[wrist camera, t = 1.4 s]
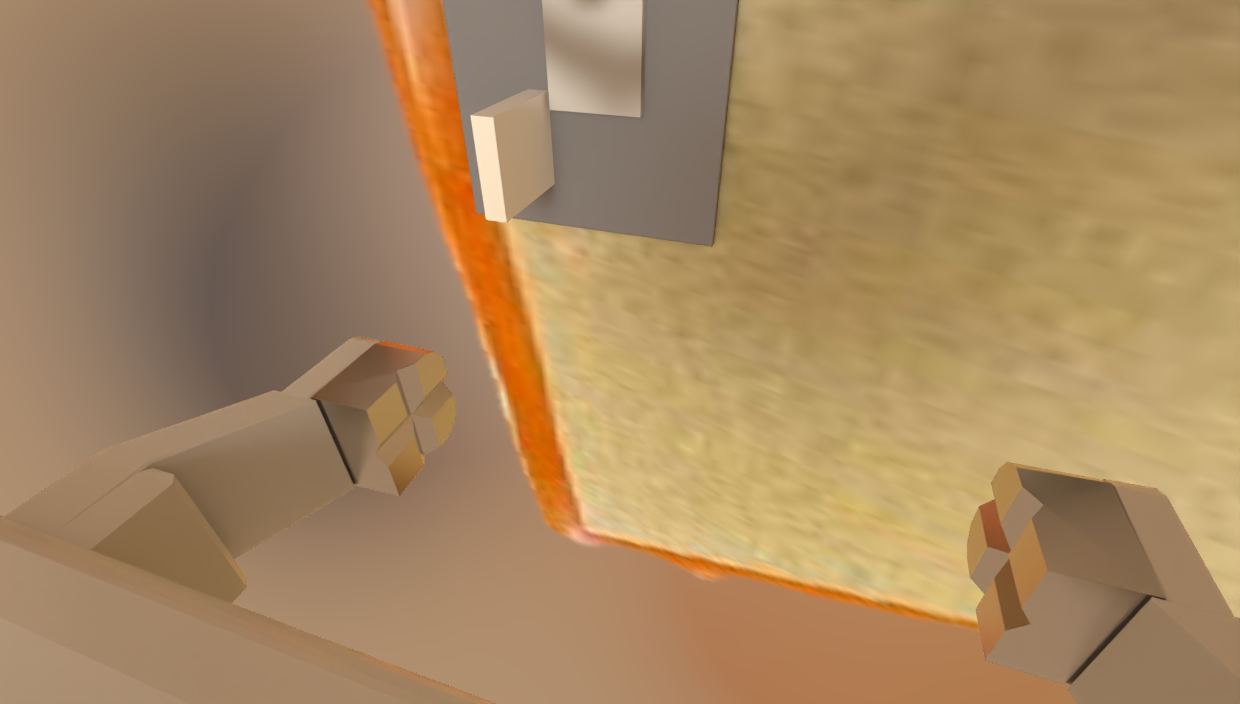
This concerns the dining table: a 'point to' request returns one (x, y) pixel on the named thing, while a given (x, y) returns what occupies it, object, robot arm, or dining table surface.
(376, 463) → the robot arm
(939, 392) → the dining table surface
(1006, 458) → the dining table surface
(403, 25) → the dining table surface
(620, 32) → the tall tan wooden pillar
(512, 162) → the tile
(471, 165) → the mat
